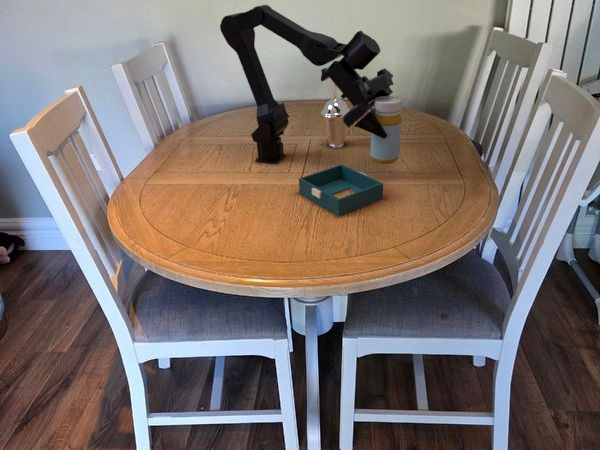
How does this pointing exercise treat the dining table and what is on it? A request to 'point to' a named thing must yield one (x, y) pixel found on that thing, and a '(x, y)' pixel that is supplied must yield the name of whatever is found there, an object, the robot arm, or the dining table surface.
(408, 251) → the dining table surface
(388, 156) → the bottle
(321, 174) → the teal square tray
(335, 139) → the cup with straw
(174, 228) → the dining table surface
